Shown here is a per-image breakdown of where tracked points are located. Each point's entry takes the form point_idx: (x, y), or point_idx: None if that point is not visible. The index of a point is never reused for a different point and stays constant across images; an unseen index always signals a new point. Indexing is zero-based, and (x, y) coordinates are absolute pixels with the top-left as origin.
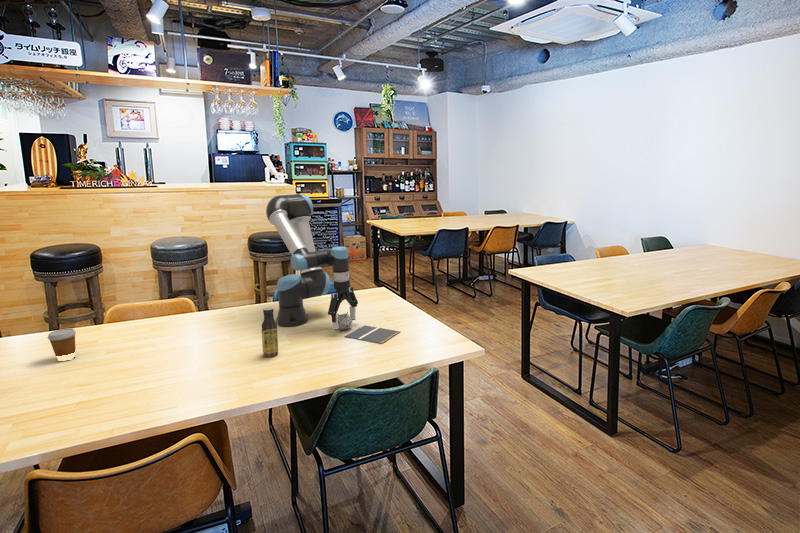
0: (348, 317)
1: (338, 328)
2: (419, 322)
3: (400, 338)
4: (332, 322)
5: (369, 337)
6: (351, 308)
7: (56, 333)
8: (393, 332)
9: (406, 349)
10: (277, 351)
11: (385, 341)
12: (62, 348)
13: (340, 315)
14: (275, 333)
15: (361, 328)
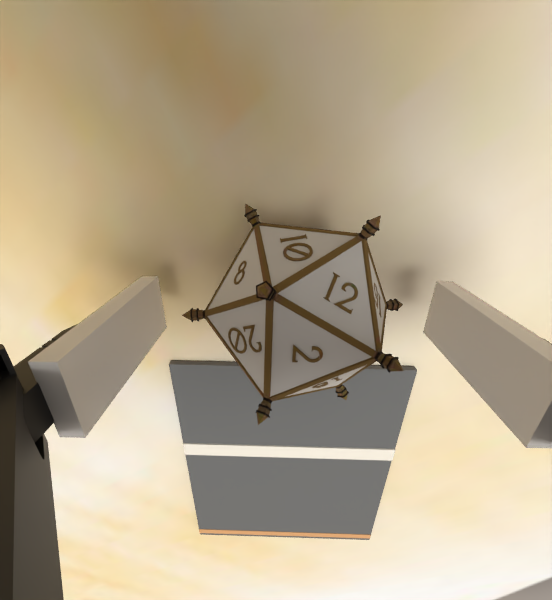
0: (306, 391)
1: (165, 327)
2: (529, 548)
3: (296, 552)
4: (108, 301)
5: (231, 476)
6: (528, 387)
7: None
8: (345, 525)
9: (207, 588)
10: None
11: (230, 532)
12: None
13: (267, 330)
14: None
15: (348, 382)
